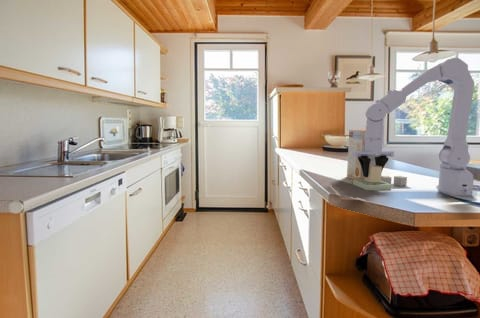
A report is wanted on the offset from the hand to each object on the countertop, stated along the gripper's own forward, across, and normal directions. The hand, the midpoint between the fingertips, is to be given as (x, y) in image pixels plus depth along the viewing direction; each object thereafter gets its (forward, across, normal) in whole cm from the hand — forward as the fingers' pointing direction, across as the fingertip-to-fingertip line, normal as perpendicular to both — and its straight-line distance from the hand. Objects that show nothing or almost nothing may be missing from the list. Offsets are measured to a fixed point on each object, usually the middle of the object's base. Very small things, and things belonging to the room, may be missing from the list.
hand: (371, 176), depth 112 cm
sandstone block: (+1, 0, +1) cm, 2 cm away
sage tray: (+4, 0, 0) cm, 4 cm away
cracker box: (+5, -2, -12) cm, 13 cm away
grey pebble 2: (+4, -12, -2) cm, 13 cm away
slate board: (+4, -9, 0) cm, 10 cm away
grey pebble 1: (+4, -7, -3) cm, 8 cm away
